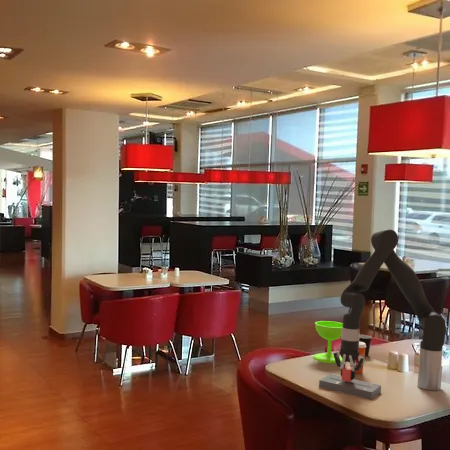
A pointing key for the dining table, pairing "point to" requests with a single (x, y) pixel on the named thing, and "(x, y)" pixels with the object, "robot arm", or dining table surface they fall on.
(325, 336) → the wineglass
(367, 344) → the coffee mug
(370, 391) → the console
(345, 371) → the fader
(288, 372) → the dining table surface
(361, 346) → the paper cup
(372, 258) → the robot arm
